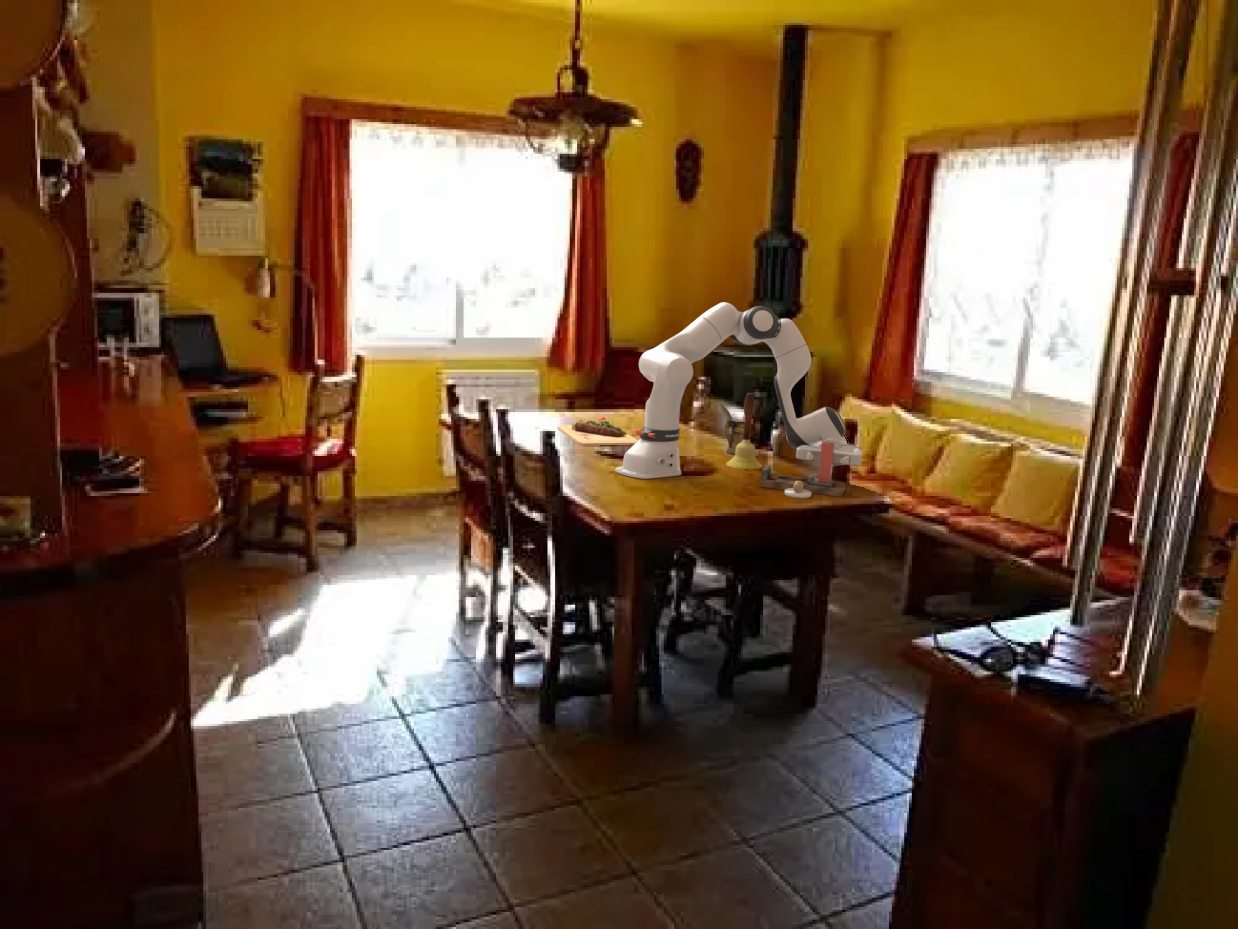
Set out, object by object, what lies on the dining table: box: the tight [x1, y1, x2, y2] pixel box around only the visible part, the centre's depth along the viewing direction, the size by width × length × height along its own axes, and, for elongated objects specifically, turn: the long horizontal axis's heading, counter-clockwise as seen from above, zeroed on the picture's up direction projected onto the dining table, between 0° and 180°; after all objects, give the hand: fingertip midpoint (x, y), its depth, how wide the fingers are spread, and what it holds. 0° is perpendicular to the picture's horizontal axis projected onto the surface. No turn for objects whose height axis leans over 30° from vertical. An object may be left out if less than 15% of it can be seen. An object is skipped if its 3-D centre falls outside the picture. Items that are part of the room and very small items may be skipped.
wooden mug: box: [719, 404, 752, 455], centre depth 349 cm, size 9×14×18 cm, turn 108°
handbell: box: [725, 392, 763, 471], centre depth 328 cm, size 12×12×25 cm
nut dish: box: [784, 481, 812, 499], centre depth 292 cm, size 8×8×4 cm
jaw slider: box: [806, 442, 835, 488], centre depth 299 cm, size 8×7×14 cm
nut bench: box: [759, 464, 846, 498], centre depth 301 cm, size 25×10×5 cm, turn 71°
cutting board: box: [557, 415, 639, 447], centre depth 368 cm, size 35×23×8 cm
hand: (826, 459), depth 297 cm, fingers open, 8 cm apart
